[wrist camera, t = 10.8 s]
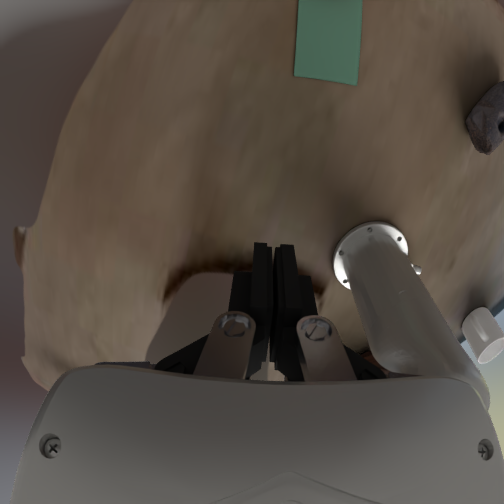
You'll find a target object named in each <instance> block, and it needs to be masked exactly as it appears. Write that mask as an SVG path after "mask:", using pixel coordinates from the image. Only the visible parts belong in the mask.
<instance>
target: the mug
mask: <svg viewBox="0 0 504 504" xmlns="http://www.w3.org/2000/svg"><path fill="white" fill-rule="evenodd" d="M462 331H463V334H464V336H465V337H466V339H467V341H468V343H469V345H470V346H471V349H472V350H473V353H474V354H475V356H476V358H477V360H478V362H479V363H481V364H483V363H486V362H489V361H490V360H492V359H494V358H495V357H496V356H497V355H498V354H499V353H500V352H501V351H502V350H503V349H504V333H503V331H502V330H501V328H500V327H499V325H498V324H497V322H496V321H495V319H494V317H493V316H492V314H491V313H490V311H489V310H488V309H487V308H485V307H480V308H477V309H475V310H473V311H472V312H471V313H470V314H469V315H468V316H467V317H466V318H465V320H464V322H463V324H462Z"/></svg>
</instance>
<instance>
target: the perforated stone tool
mask: <svg viewBox="0 0 504 504" xmlns="http://www.w3.org/2000/svg"><path fill="white" fill-rule="evenodd" d="M465 123H466V125H467V128H468V131H469V135H470V138H471V140H472V143H473V145H474V147H475V148H476V150H478V151H479V152H480V153H484V154H486V155H489V154H491V153H492V152H493V151H494V150H495V149H496V148H497V147H498V146H499V145H500V143H501V142H502V141H503V140H504V81H502V82H499V83H497V84H496V85H494V86H493V87H492V88H491V89H490V90H489V91H488V92H487V93H486V94H485V95H484V96H483V97H482V98H481V100H480V101H479V102H478V103H477V104H476V105H475V107H474V108H473V109H472V111H471V113H470V114H469V116H468V118H467V119H466V122H465Z"/></svg>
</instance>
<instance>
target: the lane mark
mask: <svg viewBox="0 0 504 504" xmlns="http://www.w3.org/2000/svg"><path fill="white" fill-rule="evenodd" d="M361 24H362V0H299V5H298V23H297V39H296V53H295V67H294V76H298V77H306V78H314V79H321V80H327V81H334V82H339V83H345V84H350V85H355V86H357V80H358V69H359V57H360V42H361Z"/></svg>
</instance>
